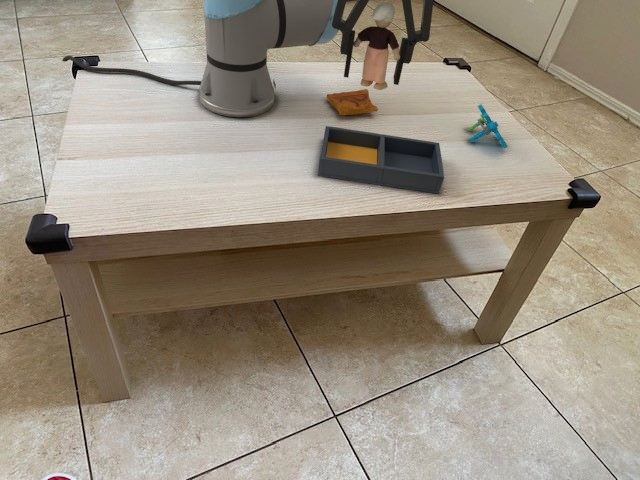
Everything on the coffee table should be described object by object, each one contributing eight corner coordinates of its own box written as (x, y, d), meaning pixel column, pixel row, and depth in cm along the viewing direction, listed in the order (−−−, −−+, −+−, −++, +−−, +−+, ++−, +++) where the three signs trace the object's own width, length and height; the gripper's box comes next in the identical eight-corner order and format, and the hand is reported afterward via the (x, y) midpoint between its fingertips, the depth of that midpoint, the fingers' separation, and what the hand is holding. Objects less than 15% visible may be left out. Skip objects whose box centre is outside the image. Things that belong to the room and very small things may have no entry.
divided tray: (317, 175, 84) (319, 158, 82) (323, 142, 92) (325, 125, 90) (438, 193, 84) (444, 177, 82) (434, 158, 92) (439, 142, 90)
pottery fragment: (341, 108, 96) (326, 77, 102) (336, 126, 100) (322, 95, 105) (386, 106, 100) (369, 76, 105) (379, 123, 103) (363, 94, 109)
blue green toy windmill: (515, 152, 94) (491, 113, 90) (487, 169, 96) (463, 131, 92) (501, 130, 103) (478, 93, 99) (475, 146, 105) (452, 110, 101)
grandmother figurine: (394, 83, 80) (412, 3, 72) (391, 93, 78) (410, 11, 69) (349, 74, 81) (362, -7, 72) (345, 84, 78) (358, 1, 70)
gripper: (475, -83, 66) (431, 76, 82) (328, -105, 66) (311, 59, 81) (484, -72, 60) (434, 97, 76) (323, -96, 60) (306, 78, 76)
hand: (371, 77), depth 79 cm, fingers closed on grandmother figurine, 7 cm apart
